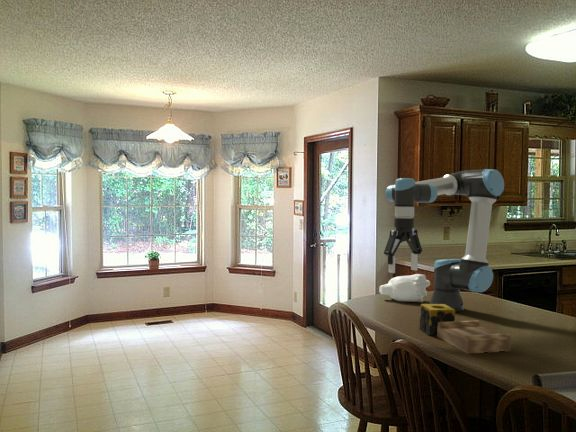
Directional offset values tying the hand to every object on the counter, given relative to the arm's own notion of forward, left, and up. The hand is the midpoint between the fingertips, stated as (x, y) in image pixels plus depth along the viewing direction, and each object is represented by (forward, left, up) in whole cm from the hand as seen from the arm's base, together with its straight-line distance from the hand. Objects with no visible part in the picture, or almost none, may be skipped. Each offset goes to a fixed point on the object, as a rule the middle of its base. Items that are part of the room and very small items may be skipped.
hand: (403, 271), depth 195 cm
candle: (-10, +9, -22) cm, 26 cm away
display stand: (-15, +25, -22) cm, 37 cm away
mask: (-23, -48, -22) cm, 57 cm away
